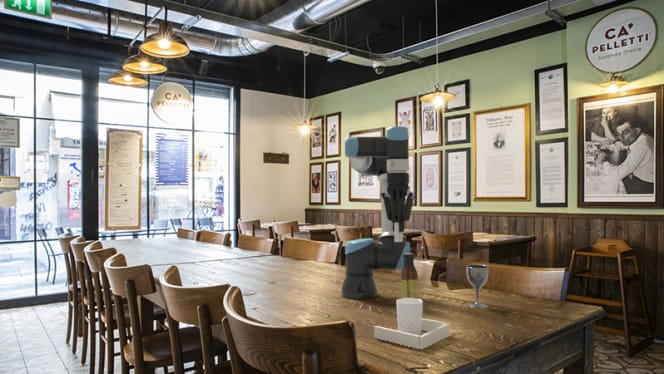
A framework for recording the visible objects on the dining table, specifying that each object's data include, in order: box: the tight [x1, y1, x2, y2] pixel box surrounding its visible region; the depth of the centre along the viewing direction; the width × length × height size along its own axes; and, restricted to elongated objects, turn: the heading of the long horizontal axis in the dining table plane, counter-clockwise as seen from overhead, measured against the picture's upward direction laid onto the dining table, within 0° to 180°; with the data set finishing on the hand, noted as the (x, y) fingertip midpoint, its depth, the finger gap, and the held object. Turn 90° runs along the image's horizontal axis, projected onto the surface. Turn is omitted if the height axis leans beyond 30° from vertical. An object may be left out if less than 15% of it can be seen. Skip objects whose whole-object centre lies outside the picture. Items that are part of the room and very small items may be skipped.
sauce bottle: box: [400, 252, 420, 299], centre depth 168 cm, size 7×6×20 cm
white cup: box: [396, 297, 424, 336], centre depth 135 cm, size 8×8×10 cm
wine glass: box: [466, 264, 489, 309], centre depth 169 cm, size 8×8×15 cm
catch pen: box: [373, 317, 451, 351], centre depth 132 cm, size 16×17×4 cm
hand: (398, 241), depth 152 cm, fingers closed
